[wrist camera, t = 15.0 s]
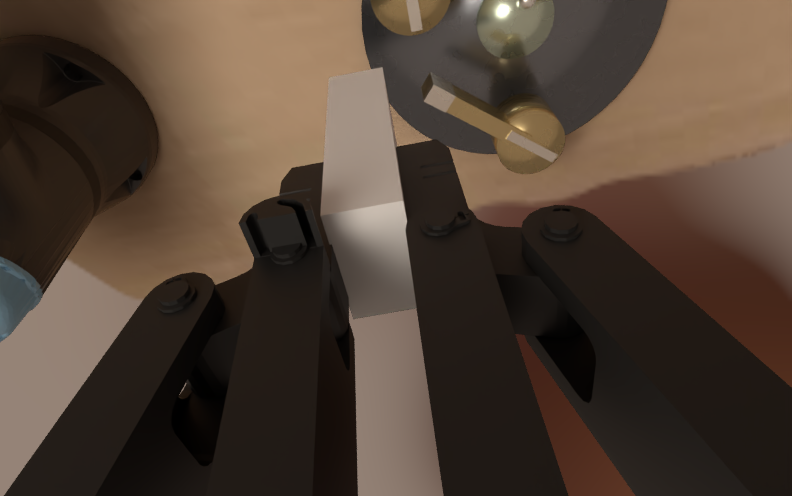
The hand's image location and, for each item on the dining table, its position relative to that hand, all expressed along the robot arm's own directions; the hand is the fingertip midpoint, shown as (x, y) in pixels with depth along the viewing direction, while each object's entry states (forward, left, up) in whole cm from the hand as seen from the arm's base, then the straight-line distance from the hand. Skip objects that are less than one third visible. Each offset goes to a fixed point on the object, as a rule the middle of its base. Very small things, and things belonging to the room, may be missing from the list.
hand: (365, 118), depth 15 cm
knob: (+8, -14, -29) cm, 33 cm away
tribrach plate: (+10, -8, -30) cm, 33 cm away
